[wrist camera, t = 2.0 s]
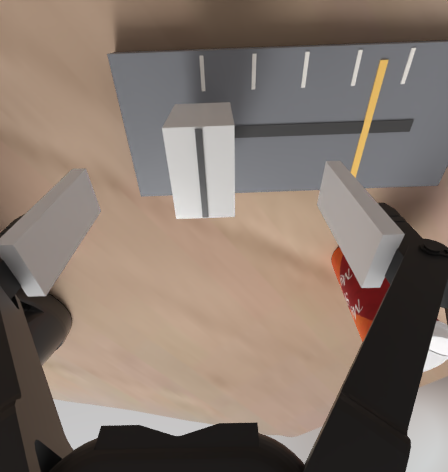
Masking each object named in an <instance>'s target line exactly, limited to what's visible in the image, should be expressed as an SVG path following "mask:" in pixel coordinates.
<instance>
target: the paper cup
mask: <svg viewBox="0 0 448 472" xmlns="http://www.w3.org/2000/svg"><path fill="white" fill-rule="evenodd" d="M331 261H332V265H333V268H334V271H335V274H336V276H337V279H338V281H339V284H340V286H341V289H342V292H343V294H344V297H345V299H346V302H347V304H348V307H349V309H350V312H351V314H352V317H353V319H354V322H355V324H356V327H357V329H358V332H359V334H360V337H361V339H362V342H363V341H364V338H365V336H366V334H367V332H368V330H369V328H370V326H371V324H372V322H373V319H374V317H375V315H376V313H377V311H378V309H379V307H380V305H381V302H382V300H383V298H384V296H385V294H386V292H387V290H388V288H389V286H390V284H389V282H388V281H387V279H386V277H385V278H384V280H383V283H382V285H381V287H380V288H361V286H360V284H359V282H358V281H357V279H356V277H355V275H354V273H353V271H352V269H351V268H350V266H349V264H348V262H347V260H346V258H345V256H344V254H343V253H342V251H341V249H340V247H338V248H337V249H336V250H335V251H334V253H333V255H332V259H331ZM447 359H448V326H447V325H446V324H445V323H443V322H440V321H439V320H438V319H437V320H436V324H435V328H434V332H433V335H432V339H431V343H430V347H429V350H428V354H427V358H426V362H425V365H424V369H423V372H424V371H427V370H430V369H432V368H435V367H437V366H439V365H440V364H442V363H443V362H445V361H446V360H447Z"/></svg>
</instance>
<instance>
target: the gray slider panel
mask: <svg viewBox="0 0 448 472" xmlns="http://www.w3.org/2000/svg"><path fill="white" fill-rule="evenodd" d="M107 55H108V59H109V64H110V68H111V72H112V76H113V80H114V85H115V89H116V93H117V97H118V101H119V106H120V110H121V114H122V118H123V122H124V127H125V131H126V135H127V139H128V143H129V148H130V152H131V156H132V160H133V164H134V169H135V173H136V177H137V181H138V186H139V190H140V194H141V196H165V195H173V194H172V188H171V182H170V176H169V169H168V163H167V157H166V151H165V144H164V138H163V132H162V127H163V125H164V123H165V121H166V120H167V118H168V116H169V114H170V112H171V110H172V109H173V107H174V105H175V104H194V103H221V102H230V105H231V110H232V115H233V120H234V130H235V193H247V192H274V191H301V190H320V188H321V183H322V178H323V173H324V168H325V163H326V161H341V162H342V163H343V165H344V166H345V167H346V168H347V169H348V170H349V171H350V173H351V174H352V175H353V176H354V177H355V178H356V179H357V180H358V182H359V183H360V184H361V185H362V186H363V187H364V188H383V187H410V186H437V185H438V184H439V182H440V180H441V178H442V176H443V174H444V172H445V170H446V168H447V166H448V40H442V41H414V42H386V43H359V44H331V45H303V46H276V47H248V48H221V49H193V50H165V51H138V52H114V53H110V54H107Z"/></svg>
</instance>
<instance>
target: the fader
mask: <svg viewBox="0 0 448 472" xmlns="http://www.w3.org/2000/svg"><path fill="white" fill-rule="evenodd" d="M162 132H163V138H164V144H165V151H166V157H167V163H168V169H169V176H170V182H171V188H172V194H173V201H174V207H175V213H176V219H190V218H217V217H235V130H234V120H233V115H232V110H231V105H230V102H221V103H194V104H175V105H174V107H173V109H172V110H171V112H170V114H169V116H168V118H167V120H166V121H165V123H164V125H163V127H162Z"/></svg>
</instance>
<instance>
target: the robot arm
mask: <svg viewBox="0 0 448 472" xmlns="http://www.w3.org/2000/svg"><path fill="white" fill-rule="evenodd" d="M317 206H318V208H319V210H320V211H321V213H322V215H323V217H324V219H325V221H326V223H327V225H328V226H329V228H330V230H331V232H332V234H333V236H334V238H335V240H336V241H337V243H338V245H339V247H340V249H341V251H342V253H343V254H344V256H345V258H346V260H347V262H348V264H349V266H350V268H351V269H352V271H353V273H354V275H355V277H356V279H357V281H358V282H359V284H360V286H361V288H380V287H381V285H382V283H383V280H384V278H385V277H386V279H387V281H388V282H389V284H390V286H389V288H388V290H387V292H386V294H385V296H384V298H383V300H382V302H381V305H380V307H379V309H378V311H377V313H376V315H375V317H374V319H373V322H372V324H371V326H370V328H369V330H368V332H367V334H366V336H365V338H364V341H363V343H362V345H361V347H360V349H359V351H358V353H357V355H356V357H355V360H354V362H353V364H352V366H351V368H350V370H349V372H348V374H347V376H346V379H345V381H344V383H343V385H342V387H341V389H340V391H339V393H338V395H337V398H336V400H335V402H334V404H333V406H332V408H331V410H330V412H329V414H328V417H327V419H326V421H325V423H324V425H323V427H322V429H321V431H320V434H319V436H318V438H317V440H316V442H315V444H314V446H313V448H312V450H311V452H310V454H309V456H308V458H307V460H306V463H305V465H304V464H303V462H302V461H301V460H300V459H299V458H298V457H297V456H296V455H295V454H294V453H293V452H292V451H290V450H289V449H288V448H287V447H286V446H284V445H283V444H281V443H280V442H278V441H276V440H275V439H272V438H270V437H268V436H266V435H263V434H259V433H258V425H257V423H219V424H216V425H213V426H210V427H207V428H204V429H201V430H198V431H195V432H192V433H188V434H185V435H182V436H173V435H170V434H166V433H163V432H160V431H157V430H153V429H150V428H147V427H144V426H140V425H125V426H124V425H122V426H101V429H100V432H99V435H98V438H97V439H94V440H92V441H90V442H87V443H85V444H83V445H82V446H80V447H78V448H77V449H75V450H74V451H73V449H72V448H71V446H70V444H69V442H68V441H67V439H66V436H65V434H64V431H63V428H62V425H61V422H60V419H59V416H58V413H57V410H56V407H55V404H54V401H53V398H52V395H51V392H50V389H49V386H48V383H47V380H46V377H45V374H44V371H43V368H42V365H43V364H44V363H45V362H46V361H47V359H48V358H49V357H50V356H51V355H52V354H53V353H54V351H56V350H57V349H58V348H59V347H60V346H61V345H62V344H63V343H64V341H65V339H66V337H67V335H68V333H69V331H70V329H71V326H72V319H71V316H70V314H69V312H68V311H67V309H66V308H65V307H64V306H63V305H62V304H61V303H60V302H59V301H58V300H57V299H55V298H54V297H53V296H51V295H50V294H48V292H49V291H50V289H51V288H52V286H53V285H54V283H55V281H56V280H57V278H58V277H59V275H60V274H61V272H62V271H63V269H64V268H65V266H66V264H67V263H68V261H69V260H70V258H71V257H72V255H73V254H74V252H75V251H76V249H77V248H78V246H79V244H80V243H81V241H82V240H83V238H84V237H85V235H86V234H87V232H88V231H89V229H90V227H91V226H92V224H93V223H94V221H95V220H96V218H97V217H98V215H99V214H100V212H101V210H100V207H99V204H98V201H97V198H96V195H95V193H94V190H93V187H92V184H91V181H90V178H89V176H88V173H87V170H86V169H72V170H71V171H69V172H68V173H67V174H66V175H65V176H64V177H63V178H62V179H61V180H60V181H59V182H58V183H57V184H56V185H55V186H54V187H53V188H52V189H51V190H50V191H49V192H48V193H47V194H46V195H44V196H43V197H42V198H41V199H40V200H39V201H38V202H37V203H36V204H35V205H34V206H33V207H32V208H31V209H30V210H29V211H28V212H27V213H26V214H24V215H22V216H20V217H19V218H17V219H15V220H14V221H13V222H11V223H10V224H9V225H8V226H7V227H6V229H4V230H3V231H2V232H1V233H0V472H405V471H406V467H407V463H408V459H409V453H410V448H411V441H410V439H409V437H408V436H407V430H408V426H409V422H410V418H411V414H412V411H413V406H414V403H415V399H416V395H417V392H418V388H419V384H420V381H421V377H422V373H423V369H424V365H425V362H426V358H427V354H428V350H429V347H430V343H431V339H432V335H433V332H434V328H435V324H436V320H437V317H438V313H439V309H440V307H442V308H445V313H446V319H447V324H448V247H446V246H445V245H443V244H441V243H439V242H437V241H434V240H430V239H423V238H422V237H421V236H420V235H419V234H418V233H417V232H416V231H415V230H414V229H413V228H412V227H411V226H410V225H409V224H408V223H407V222H406V221H405V219H404V218H403V217H401V215H400V214H399V213H398V212H397V211H396V210H395V209H394V208H392V207H390V206H389V205H387V204H385V203H377V202H376V201H375V200H374V199H373V197H372V196H371V195H370V194H369V193H368V192H367V191H366V190H365V188H364V187H363V186H362V185H361V184H360V183H359V182H358V180H357V179H356V178H355V177H354V176H353V175H352V174H351V173H350V171H349V170H348V169H347V168H346V167H345V166H344V165H343V163H342V162H341V161H326V163H325V168H324V173H323V178H322V183H321V188H320V193H319V198H318V202H317Z"/></svg>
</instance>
